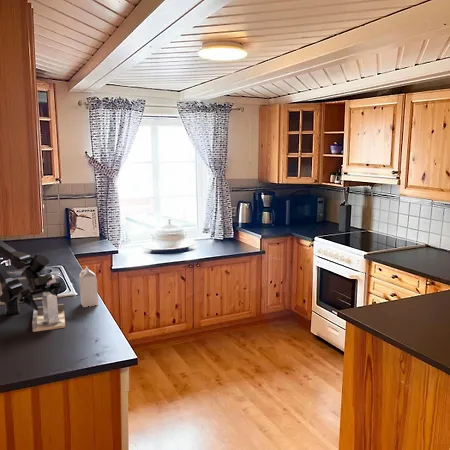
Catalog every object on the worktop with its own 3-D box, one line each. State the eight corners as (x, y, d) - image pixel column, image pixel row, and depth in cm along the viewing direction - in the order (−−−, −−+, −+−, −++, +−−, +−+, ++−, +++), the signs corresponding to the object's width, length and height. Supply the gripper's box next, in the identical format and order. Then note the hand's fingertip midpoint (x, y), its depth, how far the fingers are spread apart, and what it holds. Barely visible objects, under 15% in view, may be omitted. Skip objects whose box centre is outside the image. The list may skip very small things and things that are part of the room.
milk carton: (95, 301, 230) (93, 264, 227) (98, 305, 224) (96, 268, 221) (80, 303, 227) (78, 266, 224) (83, 307, 221) (80, 270, 218)
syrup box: (45, 307, 221) (43, 279, 219) (43, 304, 226) (41, 276, 224) (58, 305, 224) (55, 277, 221) (55, 302, 229) (53, 274, 226)
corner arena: (34, 315, 212) (33, 307, 211) (64, 311, 216) (63, 303, 215) (32, 331, 193) (32, 322, 192) (65, 327, 198) (64, 318, 197)
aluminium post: (44, 322, 200) (41, 296, 198) (53, 319, 203) (51, 293, 201) (49, 325, 197) (47, 298, 195) (58, 322, 200) (56, 296, 198)
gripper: (17, 273, 194) (31, 303, 189) (58, 264, 208) (72, 292, 203) (11, 286, 201) (24, 316, 195) (51, 277, 214) (64, 305, 209)
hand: (47, 307), depth 200 cm, fingers open, 9 cm apart
